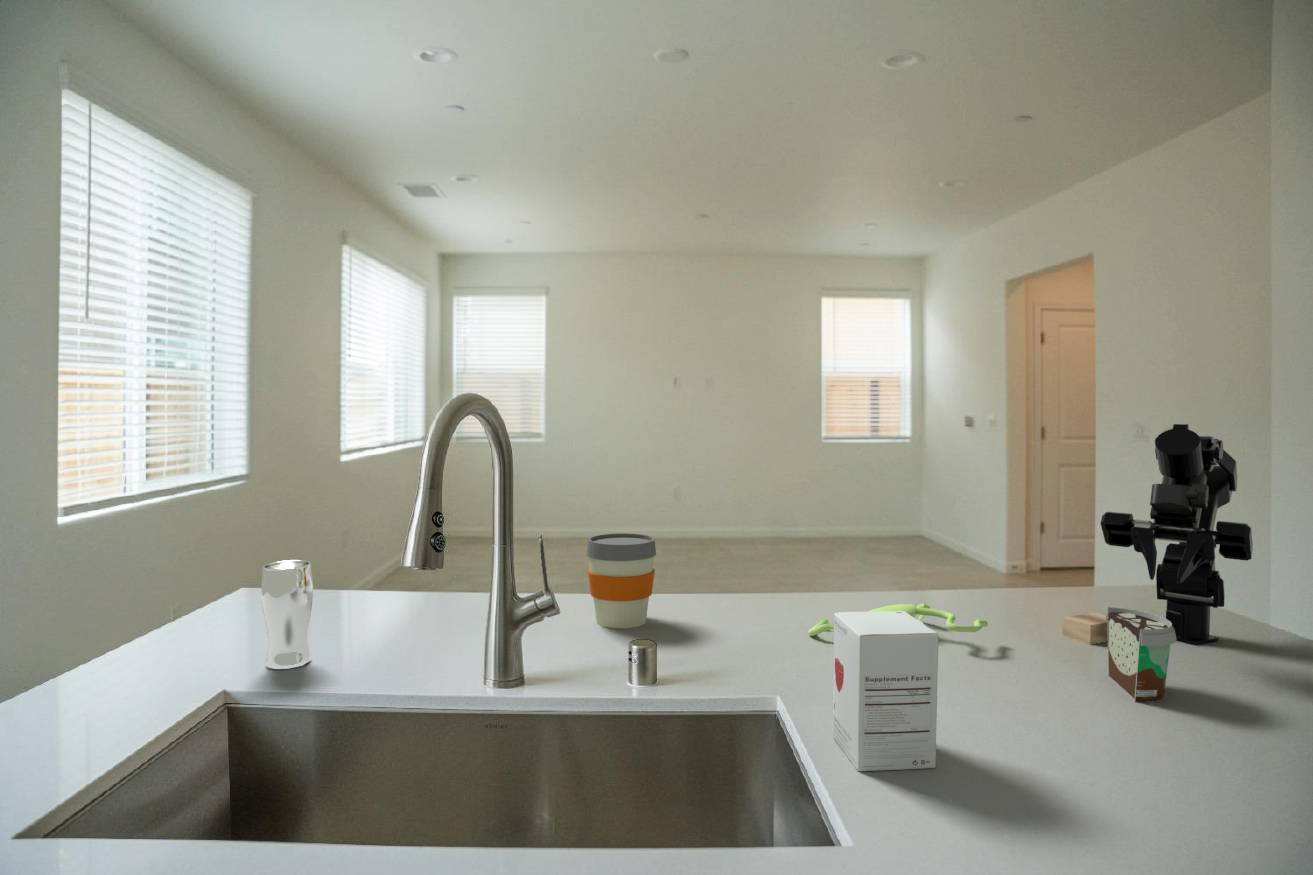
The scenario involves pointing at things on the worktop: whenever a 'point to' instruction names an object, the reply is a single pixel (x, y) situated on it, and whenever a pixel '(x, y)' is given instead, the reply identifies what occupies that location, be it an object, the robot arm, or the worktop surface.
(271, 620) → the beer glass
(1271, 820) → the worktop surface
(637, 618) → the reusable coffee cup
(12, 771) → the worktop surface
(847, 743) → the supplement box
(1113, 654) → the food container
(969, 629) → the figurine
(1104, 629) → the oak block
